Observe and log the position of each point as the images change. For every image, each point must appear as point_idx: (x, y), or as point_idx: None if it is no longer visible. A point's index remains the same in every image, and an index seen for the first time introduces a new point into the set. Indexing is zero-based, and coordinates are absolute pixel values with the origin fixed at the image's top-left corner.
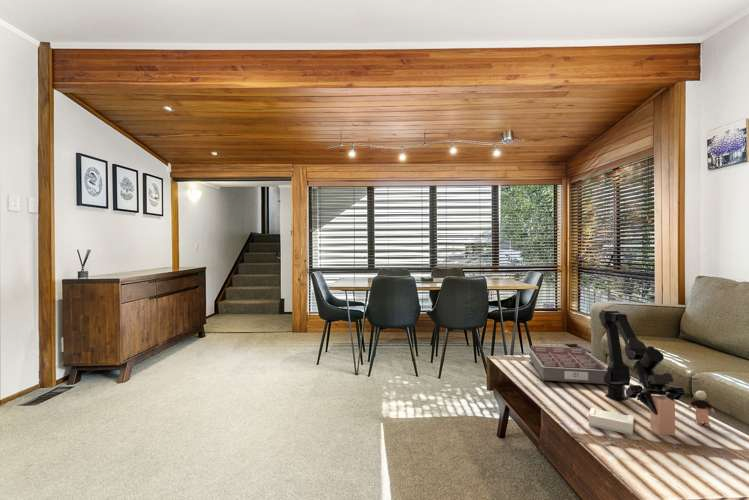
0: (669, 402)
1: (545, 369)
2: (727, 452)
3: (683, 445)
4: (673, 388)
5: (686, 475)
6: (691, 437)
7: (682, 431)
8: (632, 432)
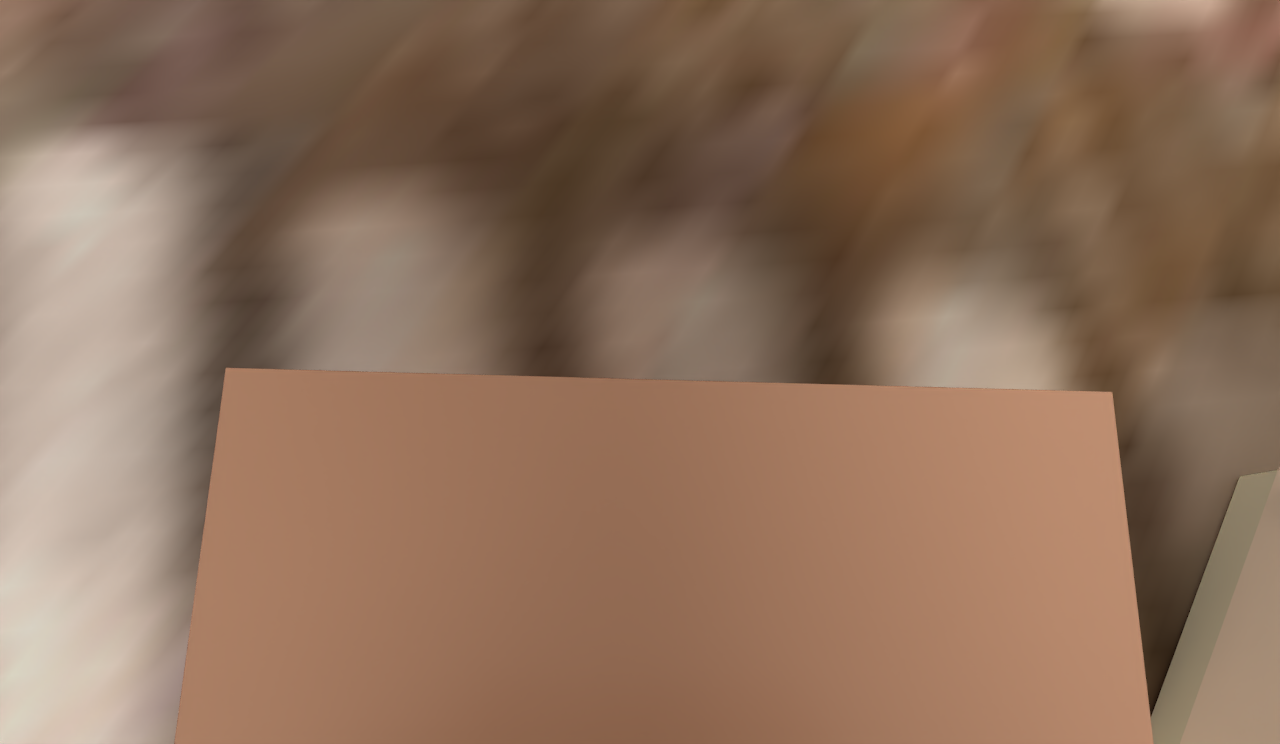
0: (556, 385)
1: None
2: (86, 4)
3: (597, 169)
4: None
5: None
6: None
7: None
8: (1275, 472)
